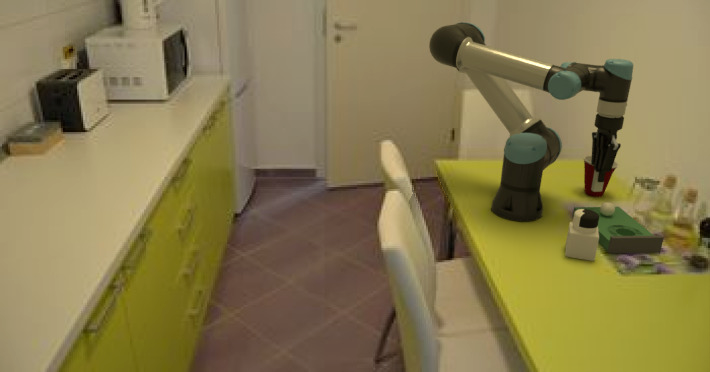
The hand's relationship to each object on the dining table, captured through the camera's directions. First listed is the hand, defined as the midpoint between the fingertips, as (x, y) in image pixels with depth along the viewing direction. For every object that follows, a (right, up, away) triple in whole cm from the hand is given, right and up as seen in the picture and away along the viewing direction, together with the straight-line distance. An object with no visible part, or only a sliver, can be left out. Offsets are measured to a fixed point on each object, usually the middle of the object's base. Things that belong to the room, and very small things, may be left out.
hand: (596, 190), depth 173 cm
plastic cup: (+6, -2, +17) cm, 18 cm away
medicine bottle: (-14, -17, -21) cm, 30 cm away
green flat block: (+1, -12, -10) cm, 15 cm away
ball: (0, -5, -7) cm, 9 cm away
